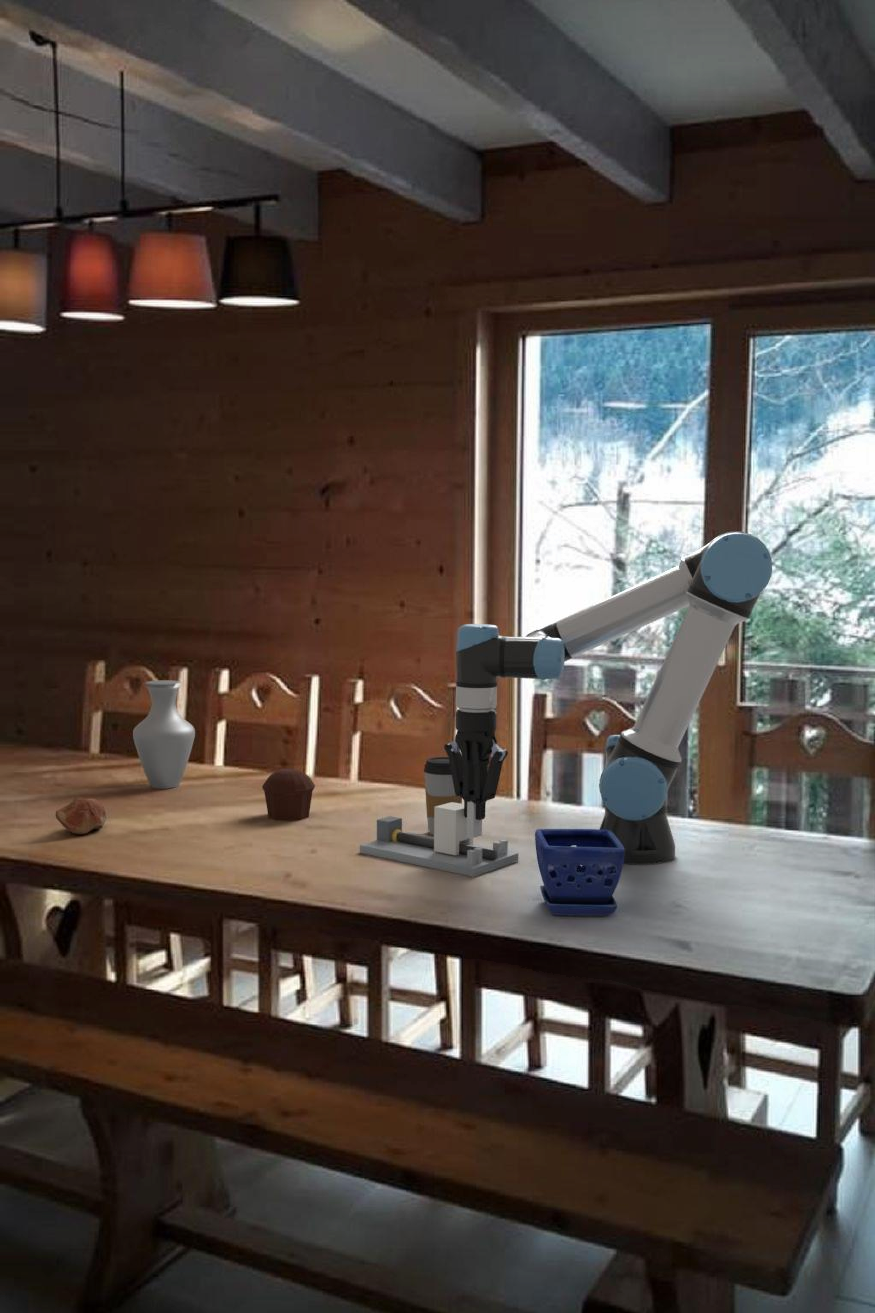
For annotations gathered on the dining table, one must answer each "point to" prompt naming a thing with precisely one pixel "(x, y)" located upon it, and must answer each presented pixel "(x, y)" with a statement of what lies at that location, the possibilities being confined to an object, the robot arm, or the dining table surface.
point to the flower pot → (579, 870)
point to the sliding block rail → (422, 851)
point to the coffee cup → (438, 786)
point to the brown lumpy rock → (82, 815)
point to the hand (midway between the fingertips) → (474, 836)
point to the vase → (164, 737)
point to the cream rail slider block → (450, 828)
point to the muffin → (288, 794)
